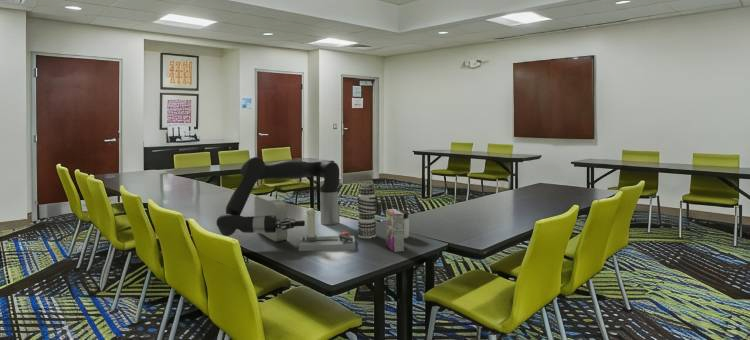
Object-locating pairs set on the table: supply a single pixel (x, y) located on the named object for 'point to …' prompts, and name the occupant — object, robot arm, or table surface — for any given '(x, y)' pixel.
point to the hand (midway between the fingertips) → (304, 223)
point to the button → (346, 233)
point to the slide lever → (311, 225)
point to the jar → (405, 223)
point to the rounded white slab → (272, 207)
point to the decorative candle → (366, 211)
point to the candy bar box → (395, 230)
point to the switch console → (326, 244)
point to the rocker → (345, 237)
